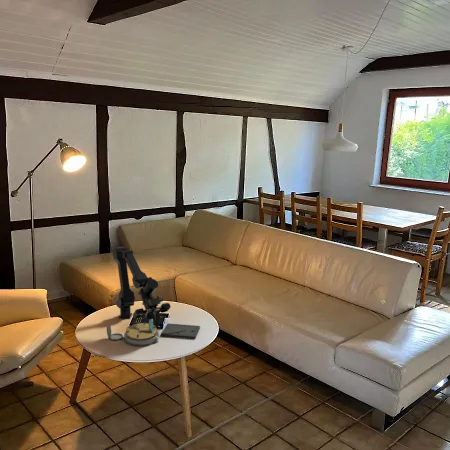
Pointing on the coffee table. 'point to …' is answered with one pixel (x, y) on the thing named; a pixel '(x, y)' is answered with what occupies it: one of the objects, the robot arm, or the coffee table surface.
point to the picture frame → (180, 331)
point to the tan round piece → (141, 331)
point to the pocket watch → (113, 336)
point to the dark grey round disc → (141, 343)
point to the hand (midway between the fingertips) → (157, 326)
